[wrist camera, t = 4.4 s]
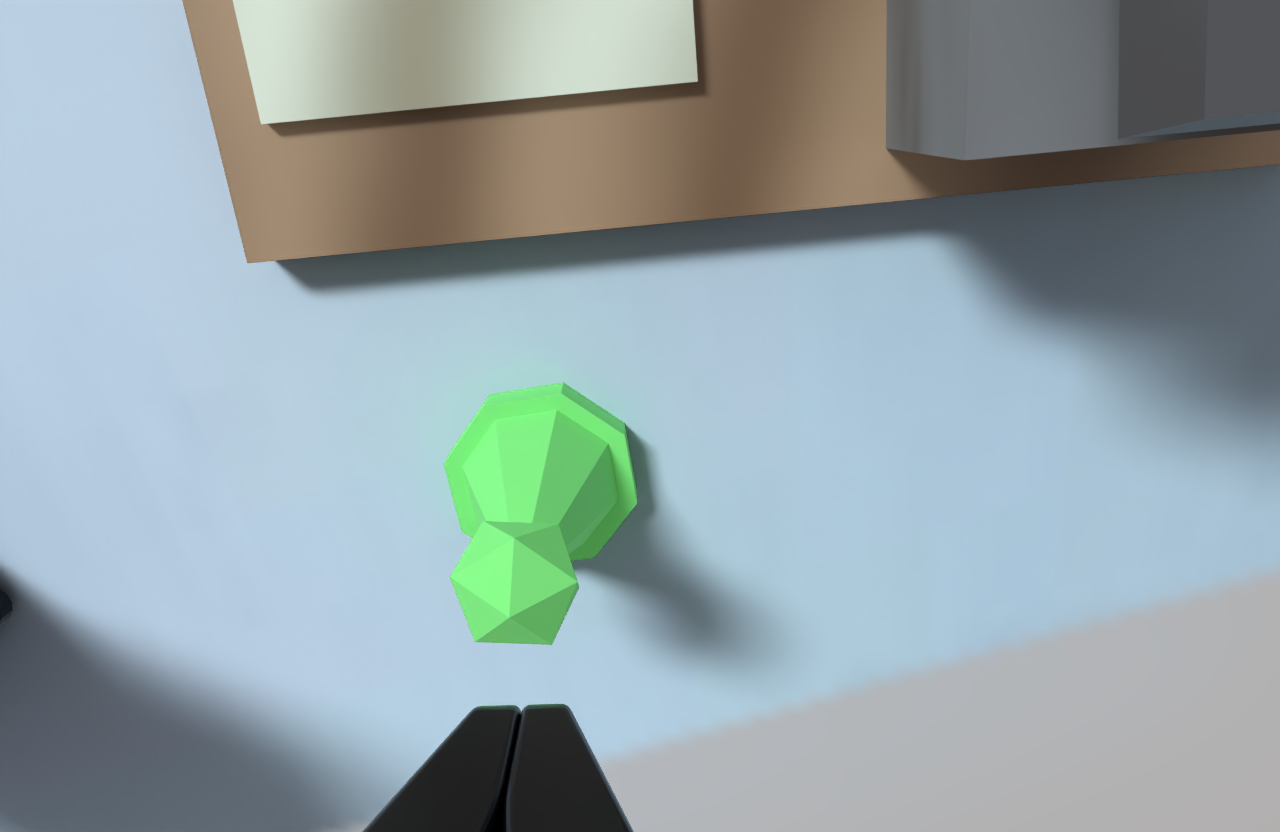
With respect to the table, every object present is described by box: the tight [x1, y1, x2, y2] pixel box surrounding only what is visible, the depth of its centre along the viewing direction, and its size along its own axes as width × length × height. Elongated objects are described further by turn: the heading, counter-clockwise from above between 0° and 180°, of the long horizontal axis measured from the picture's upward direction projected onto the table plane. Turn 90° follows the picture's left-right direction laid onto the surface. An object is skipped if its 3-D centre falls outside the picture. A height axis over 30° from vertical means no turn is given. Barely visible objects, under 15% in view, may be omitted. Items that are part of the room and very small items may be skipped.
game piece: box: [444, 383, 637, 645], centre depth 17 cm, size 4×4×6 cm
